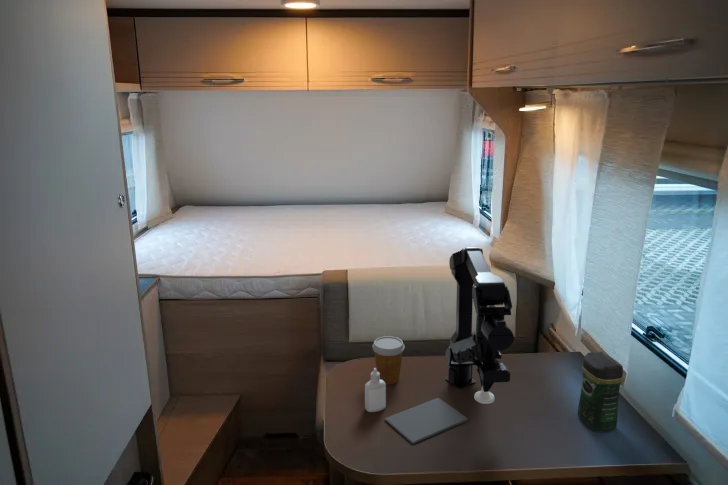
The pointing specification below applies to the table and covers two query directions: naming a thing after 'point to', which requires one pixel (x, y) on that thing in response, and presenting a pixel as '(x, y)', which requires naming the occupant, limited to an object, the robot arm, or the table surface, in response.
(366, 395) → the eye dropper bottle
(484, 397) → the chess piece
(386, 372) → the disposable coffee cup
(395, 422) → the slate mat
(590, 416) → the coffee jar
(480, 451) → the table surface
